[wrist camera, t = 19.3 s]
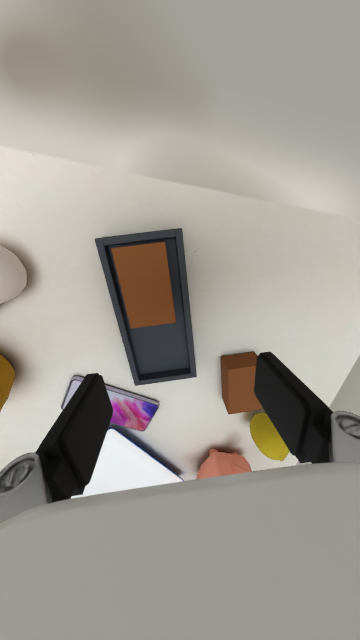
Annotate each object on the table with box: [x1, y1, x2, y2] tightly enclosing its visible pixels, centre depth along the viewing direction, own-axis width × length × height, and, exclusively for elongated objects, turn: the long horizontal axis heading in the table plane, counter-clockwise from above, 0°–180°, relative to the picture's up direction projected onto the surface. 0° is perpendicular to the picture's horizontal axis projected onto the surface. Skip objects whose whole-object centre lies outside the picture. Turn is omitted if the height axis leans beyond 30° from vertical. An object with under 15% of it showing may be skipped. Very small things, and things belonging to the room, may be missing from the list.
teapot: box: [197, 449, 252, 479], centre depth 33 cm, size 14×12×10 cm
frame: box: [95, 228, 197, 386], centre depth 23 cm, size 10×21×2 cm, turn 7°
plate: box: [71, 428, 184, 499], centre depth 36 cm, size 22×22×2 cm
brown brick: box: [221, 352, 262, 414], centre depth 28 cm, size 6×9×4 cm, turn 7°
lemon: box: [250, 413, 289, 461], centre depth 30 cm, size 6×6×8 cm
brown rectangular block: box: [111, 242, 176, 329], centre depth 21 cm, size 6×9×4 cm, turn 7°
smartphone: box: [61, 376, 159, 431], centre depth 29 cm, size 7×1×15 cm
